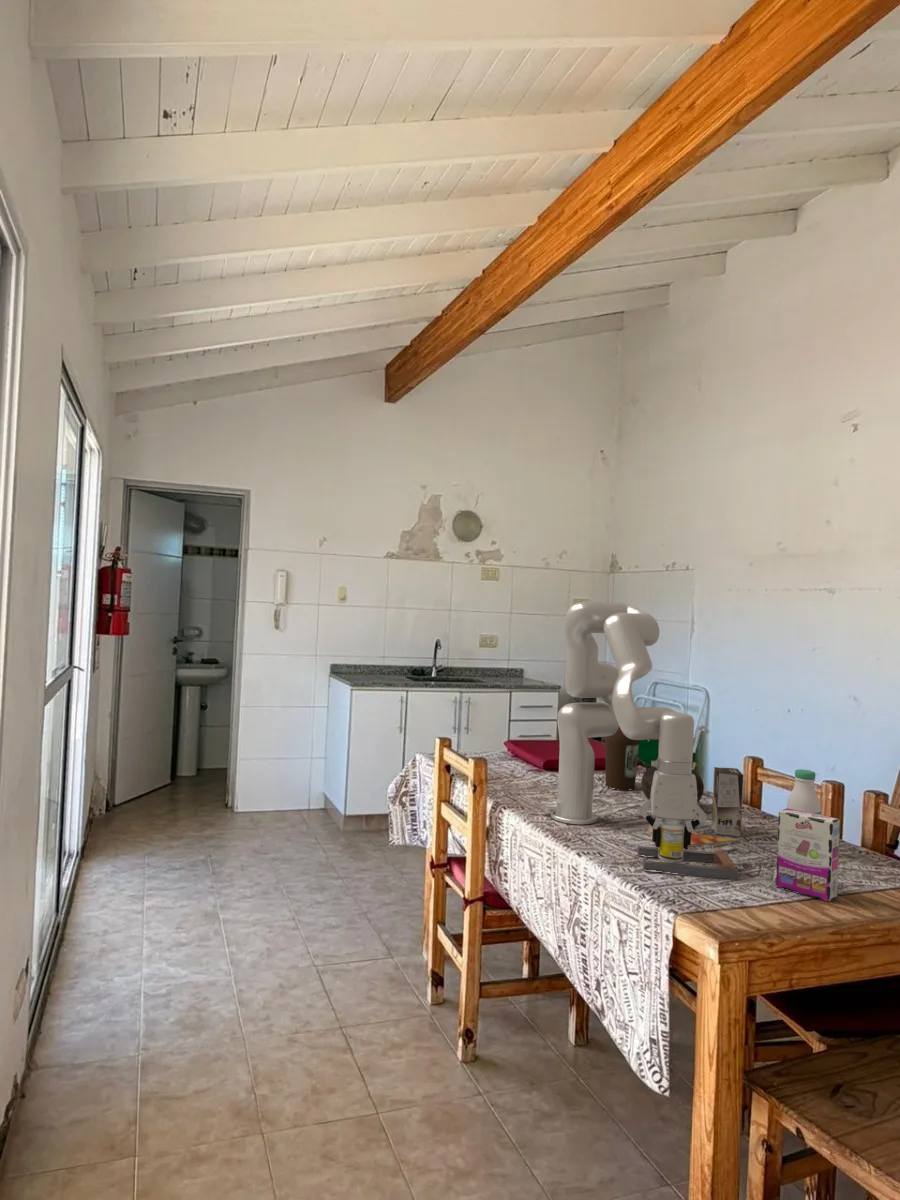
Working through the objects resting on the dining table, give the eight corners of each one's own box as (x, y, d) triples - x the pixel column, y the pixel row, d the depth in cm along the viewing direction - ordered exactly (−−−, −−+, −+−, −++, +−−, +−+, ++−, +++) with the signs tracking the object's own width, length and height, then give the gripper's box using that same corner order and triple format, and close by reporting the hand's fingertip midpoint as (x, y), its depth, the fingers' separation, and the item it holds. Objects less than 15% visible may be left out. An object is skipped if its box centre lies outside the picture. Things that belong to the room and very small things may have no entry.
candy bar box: (838, 897, 161) (841, 818, 161) (829, 903, 158) (833, 822, 158) (784, 881, 169) (787, 806, 169) (774, 887, 166) (777, 810, 166)
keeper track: (643, 871, 172) (644, 858, 172) (637, 854, 184) (638, 841, 184) (737, 879, 169) (738, 866, 169) (725, 861, 181) (725, 848, 181)
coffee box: (741, 837, 202) (744, 775, 202) (715, 834, 203) (718, 772, 203) (735, 827, 211) (738, 767, 211) (711, 824, 212) (713, 765, 212)
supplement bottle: (664, 853, 181) (666, 809, 181) (687, 859, 177) (689, 814, 177) (653, 858, 177) (655, 813, 177) (676, 865, 173) (678, 819, 173)
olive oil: (596, 786, 252) (600, 709, 252) (615, 782, 260) (618, 707, 260) (624, 793, 245) (628, 713, 245) (643, 788, 252) (646, 711, 252)
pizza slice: (737, 861, 184) (737, 852, 184) (641, 846, 191) (641, 838, 191) (737, 842, 198) (737, 835, 198) (648, 830, 206) (648, 822, 206)
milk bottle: (804, 858, 186) (808, 775, 186) (777, 849, 193) (781, 768, 193) (826, 855, 190) (829, 773, 190) (798, 845, 197) (802, 766, 197)
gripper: (638, 767, 174) (634, 848, 175) (717, 773, 172) (713, 855, 172) (634, 761, 182) (630, 838, 182) (710, 766, 180) (706, 844, 180)
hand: (671, 845), depth 177 cm, fingers closed on supplement bottle, 5 cm apart
